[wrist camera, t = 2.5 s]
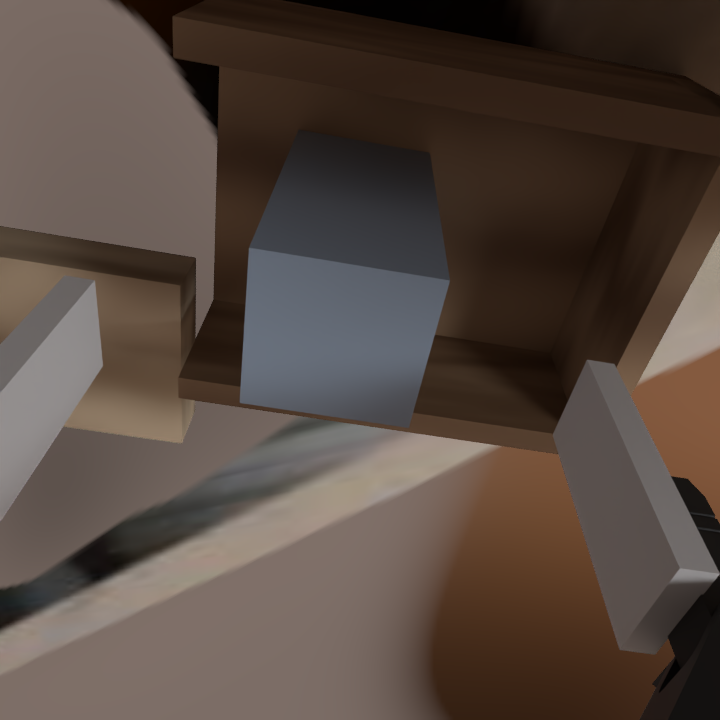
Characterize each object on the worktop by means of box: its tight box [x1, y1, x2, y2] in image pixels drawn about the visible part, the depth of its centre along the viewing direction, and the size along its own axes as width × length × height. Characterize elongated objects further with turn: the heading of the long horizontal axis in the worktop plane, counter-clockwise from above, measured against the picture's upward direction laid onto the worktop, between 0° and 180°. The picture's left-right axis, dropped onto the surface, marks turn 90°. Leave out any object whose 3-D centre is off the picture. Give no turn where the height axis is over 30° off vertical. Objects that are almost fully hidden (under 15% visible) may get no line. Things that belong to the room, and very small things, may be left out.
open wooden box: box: [173, 0, 720, 454], centre depth 23 cm, size 13×16×6 cm
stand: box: [0, 226, 196, 444], centre depth 29 cm, size 9×9×2 cm
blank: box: [240, 130, 450, 428], centre depth 21 cm, size 5×5×10 cm
